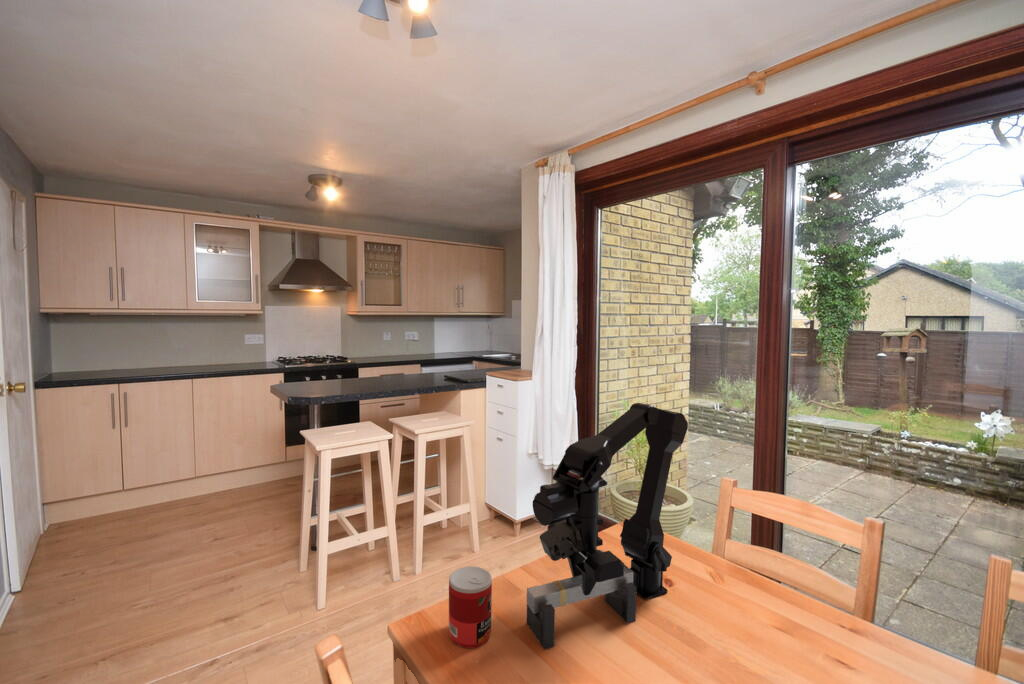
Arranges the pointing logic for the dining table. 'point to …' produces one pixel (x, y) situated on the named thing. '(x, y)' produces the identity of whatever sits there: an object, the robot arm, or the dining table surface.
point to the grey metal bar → (572, 591)
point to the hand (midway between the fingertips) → (582, 589)
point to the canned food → (470, 606)
